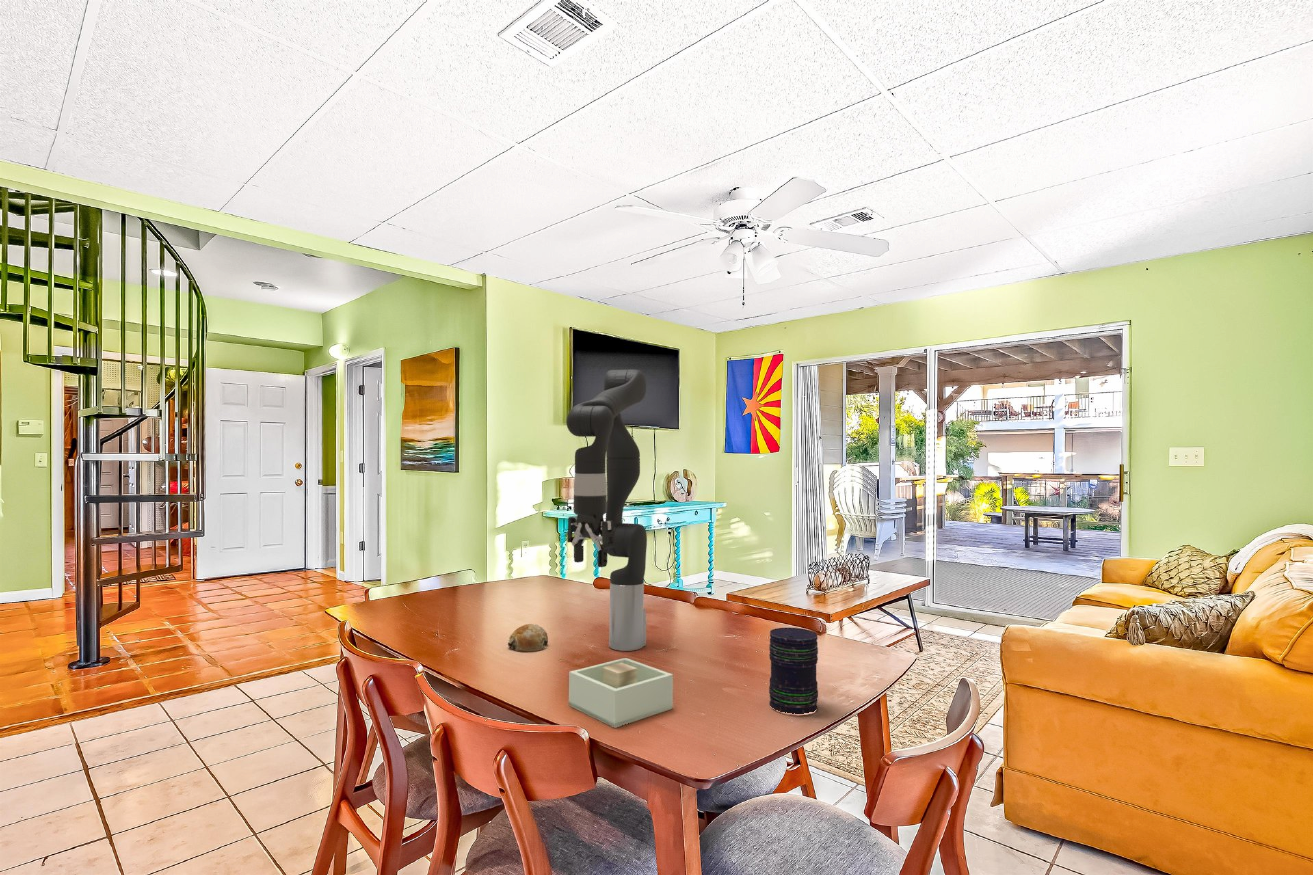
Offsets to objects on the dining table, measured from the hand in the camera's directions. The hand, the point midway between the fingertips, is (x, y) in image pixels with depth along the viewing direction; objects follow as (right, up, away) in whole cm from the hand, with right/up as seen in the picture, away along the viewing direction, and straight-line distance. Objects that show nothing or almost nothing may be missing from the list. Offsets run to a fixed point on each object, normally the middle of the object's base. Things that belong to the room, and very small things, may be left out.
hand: (590, 564), depth 148 cm
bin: (+8, -26, -16) cm, 31 cm away
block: (+8, -25, -16) cm, 31 cm away
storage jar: (+43, -27, -15) cm, 53 cm away
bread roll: (-19, -28, +26) cm, 43 cm away
